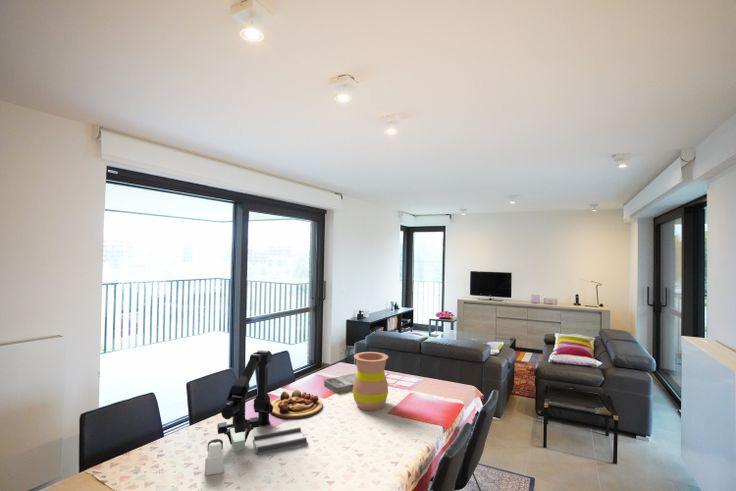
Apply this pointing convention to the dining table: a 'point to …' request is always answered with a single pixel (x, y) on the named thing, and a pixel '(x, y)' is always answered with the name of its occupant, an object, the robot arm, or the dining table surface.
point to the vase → (370, 381)
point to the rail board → (279, 441)
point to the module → (238, 442)
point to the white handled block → (214, 457)
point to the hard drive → (340, 383)
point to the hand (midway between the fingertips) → (238, 443)
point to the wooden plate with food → (296, 405)
